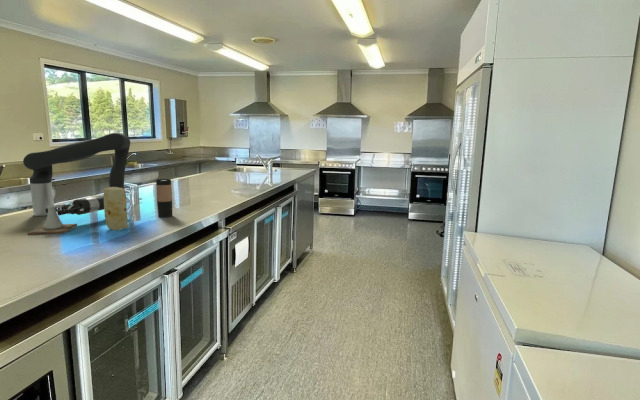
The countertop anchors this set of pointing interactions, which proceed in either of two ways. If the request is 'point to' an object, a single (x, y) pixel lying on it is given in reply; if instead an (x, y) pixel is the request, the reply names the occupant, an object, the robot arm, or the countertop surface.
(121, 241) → the countertop surface
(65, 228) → the walnut board
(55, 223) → the flask
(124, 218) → the food model
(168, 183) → the travel mug
